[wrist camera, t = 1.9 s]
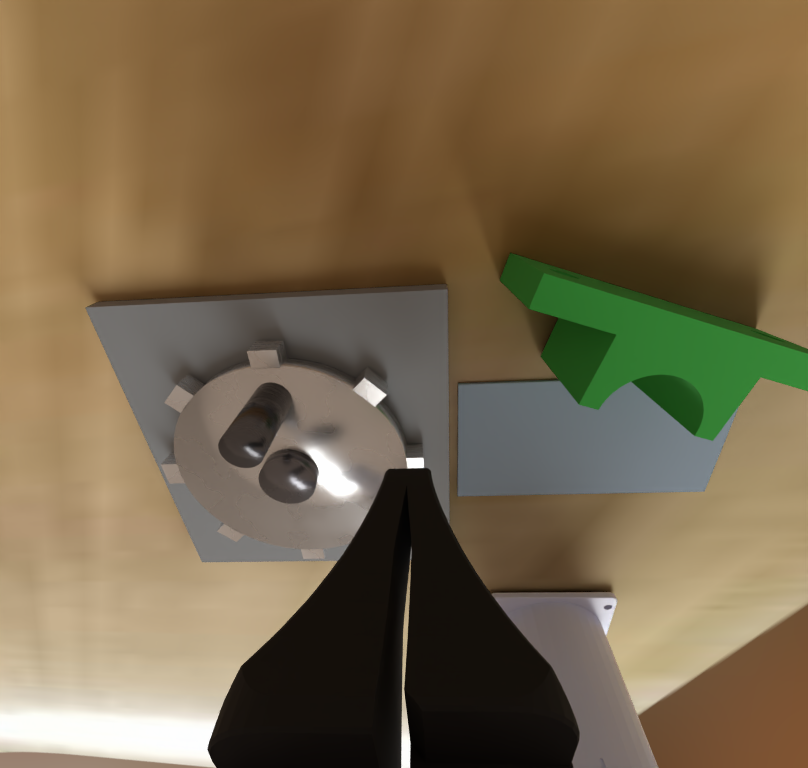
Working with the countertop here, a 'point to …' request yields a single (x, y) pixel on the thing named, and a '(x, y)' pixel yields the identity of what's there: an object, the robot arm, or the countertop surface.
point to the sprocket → (286, 448)
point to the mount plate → (303, 338)
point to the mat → (574, 443)
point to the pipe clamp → (650, 347)
